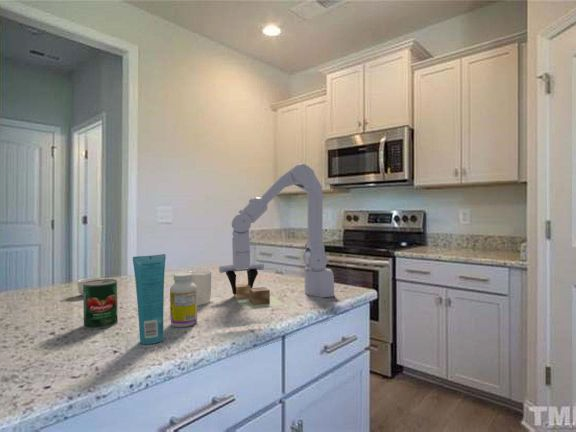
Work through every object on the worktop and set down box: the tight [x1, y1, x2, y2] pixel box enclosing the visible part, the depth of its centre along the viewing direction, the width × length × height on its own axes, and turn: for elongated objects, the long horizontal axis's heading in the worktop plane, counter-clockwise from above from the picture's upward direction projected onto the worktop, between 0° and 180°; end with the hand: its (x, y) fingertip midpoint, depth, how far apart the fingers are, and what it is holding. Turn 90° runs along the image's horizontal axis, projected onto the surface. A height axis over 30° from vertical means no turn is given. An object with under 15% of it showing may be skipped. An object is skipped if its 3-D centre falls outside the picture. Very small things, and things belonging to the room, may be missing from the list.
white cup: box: [186, 270, 213, 306], centre depth 114 cm, size 8×8×10 cm
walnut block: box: [248, 286, 271, 305], centre depth 113 cm, size 5×5×4 cm
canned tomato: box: [82, 278, 119, 330], centre depth 96 cm, size 8×8×11 cm
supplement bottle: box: [169, 272, 198, 328], centre depth 95 cm, size 7×7×13 cm
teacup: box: [77, 277, 103, 297], centre depth 131 cm, size 10×8×5 cm
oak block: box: [233, 283, 251, 299], centre depth 121 cm, size 4×4×4 cm
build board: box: [235, 295, 285, 310], centre depth 113 cm, size 12×12×1 cm
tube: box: [132, 253, 167, 345], centre depth 83 cm, size 7×5×19 cm, turn 140°
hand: (242, 293), depth 121 cm, fingers closed on oak block, 4 cm apart
